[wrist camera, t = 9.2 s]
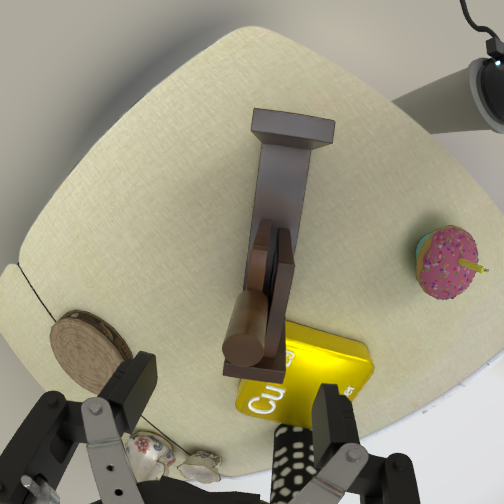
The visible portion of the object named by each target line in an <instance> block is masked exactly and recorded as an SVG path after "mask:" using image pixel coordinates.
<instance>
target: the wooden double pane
mask: <svg viewBox="0 0 504 504" xmlns="http://www.w3.org/2000/svg"><path fill="white" fill-rule="evenodd" d="M334 129H335V120H330V119H325V118H319V117H314V116H308V115H302V114H296V113H290V112H283V111H275V110H267V109H259V108H254V109H253V117H252V124H251V132H252V133H253V134H254V135H255V136H256V137H257V138H258V139H259V140H260V141H261V142H262V147H261V154H260V162H259V169H258V177H257V184H256V192H255V200H254V207H253V215H252V223H251V230H250V238H249V246H248V254H247V262H246V269H245V277H244V285H243V291H244V290H246V286H247V278H248V270H249V263H250V255H251V249H252V245H253V242H254V239H255V236H256V232H257V229H258V226H259V223H260V220H261V219H262V220H269V221H272V226H271V234H270V243H269V251H268V258H267V264H266V271H265V277H264V283H263V290H262V293H263V294H264V295H265V296H266V297H267V299H268V313H267V325H266V336H265V346H264V355H263V357H262V359H261V360H260V361H259V362H258V363H257V364H255V365H252V366H248V367H242V366H237V365H234V364H232V363H231V362H229V361H228V360H227V359H226V358H225V361H224V367H223V376H229V377H235V378H241V379H247V380H254V381H261V382H269V383H277V384H283V381H284V378H285V374H286V322H285V313H286V308H287V303H288V299H289V294H290V289H291V283H292V278H293V273H294V268H295V262H294V253H295V248H296V242H297V237H298V231H299V225H300V219H301V213H302V207H303V201H304V195H305V188H306V182H307V175H308V168H309V162H310V155H311V150H313V149H316V148H319V147H323V146H326V145H329V144H332V143H333V137H334Z"/></svg>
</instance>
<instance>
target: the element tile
mask: <svg viewBox="0 0 504 504" xmlns="http://www.w3.org/2000/svg"><path fill="white" fill-rule="evenodd" d="M285 322H286V374H285V378H284V381H283V384H277V383H269V382H261V381H254V380H247V379H242V380H241V382H240V384H239V388H238V393H237V398H236V403H235V404H236V408H237V410H238V411H239V412H241V413H243V414H245V415H249V416H253V417H257V418H261V419H265V420H269V421H273V422H277V423H282V424H287V425H291V426H296V427H301V428H307V429H312V418H311V411H312V405H313V402H314V400H315V397H316V395H317V392H318V390H319V387H320V385H321V383H328V384H337V385H338V389H339V395H346V396H347V397H348V398H349V400H350V401H351V402H352V401H353V400H354V398H355V397H356V396H357V394H358V393H359V392H360V391H361V389H362V388H363V387H364V385H365V384H366V383H367V381H368V380H369V379H370V377H371V376H372V374H373V372H374V364H373V361H372V359H371V356H370V354H369V351H368V349H367V347H366V346H365V345H364V344H362V343H360V342H356V341H353V340H349V339H346V338H342V337H339V336H335V335H332V334H329V333H325V332H322V331H319V330H315V329H312V328H309V327H306V326H302V325H299V324H296V323H293V322H290V321H286V320H285Z"/></svg>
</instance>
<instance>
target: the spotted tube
mask: <svg viewBox="0 0 504 504" xmlns="http://www.w3.org/2000/svg"><path fill="white" fill-rule="evenodd" d="M321 470H322V469H321V468H314V451H313V433H312V429H307V428H301V427H296V426H291V425H287V424H281V425H279V426H278V427H277V428H276V430H275V432H274V450H273V466H272V481H271V494H270V504H288V503H289V502H290V501H291V500H292V499H293V498H294V497H295V496H296V495H297V494H298V493H299V492H300V491H301V490H302V489H303V488H304V487H305V486H306V485H307V484H308V483H309V482H310V481H311V480H312V479H313V478H314V477H315V476H316V475H317V474H318V473H319V472H320V471H321Z"/></svg>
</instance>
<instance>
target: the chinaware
mask: <svg viewBox="0 0 504 504" xmlns="http://www.w3.org/2000/svg"><path fill="white" fill-rule="evenodd" d="M125 449H126V453H127V456H128V459H129V461H130V464H131V467H132V469H133V472H134V474H135V476H136V479H137V481H138V482H142V481H147V480H158V478H157V475H158V474H159V473H160V472H161V471H163V470H164V473H163V476H168V473H169V468H168V467H169V466H170V465H171V464H173V463H174V462H175V456H174V454H173V453H172V450H173V448H172V445H171V444H170V443H169V442H168V441H167V440H166V439H164V438H163V437H161V436H159V435H157V434H155V433H152V432H148V431H138V432H137V433H136V434H135V435H132V436H130V437H129V439H128V441H127V442H126V443H125ZM217 457H219V458H220V460H219V463H218V464H217V465H216V463H215V462H214V460H213V459H215V458H217ZM221 462H222V458H221V457H220V456H218V455H217V456H215V457H214V455H213V454H209V453H207V452H206V451H197V452H196V454H195V455H192V456H190V457H188V458H187V459H186V460H185V461H184V462H183V464H181V465H179V466H177V469H178V470H179V471H180V472H181V475H182V476H184V477H185V478H187V479H196V480H197V481H199V482H200V483H204V484H207V483H211V482H213V480H214V481H216V482H218V481H220V480H221V478H220V475H219V474H218V468H217V467H219V466H220V464H221ZM160 479H161V478H160Z"/></svg>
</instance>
